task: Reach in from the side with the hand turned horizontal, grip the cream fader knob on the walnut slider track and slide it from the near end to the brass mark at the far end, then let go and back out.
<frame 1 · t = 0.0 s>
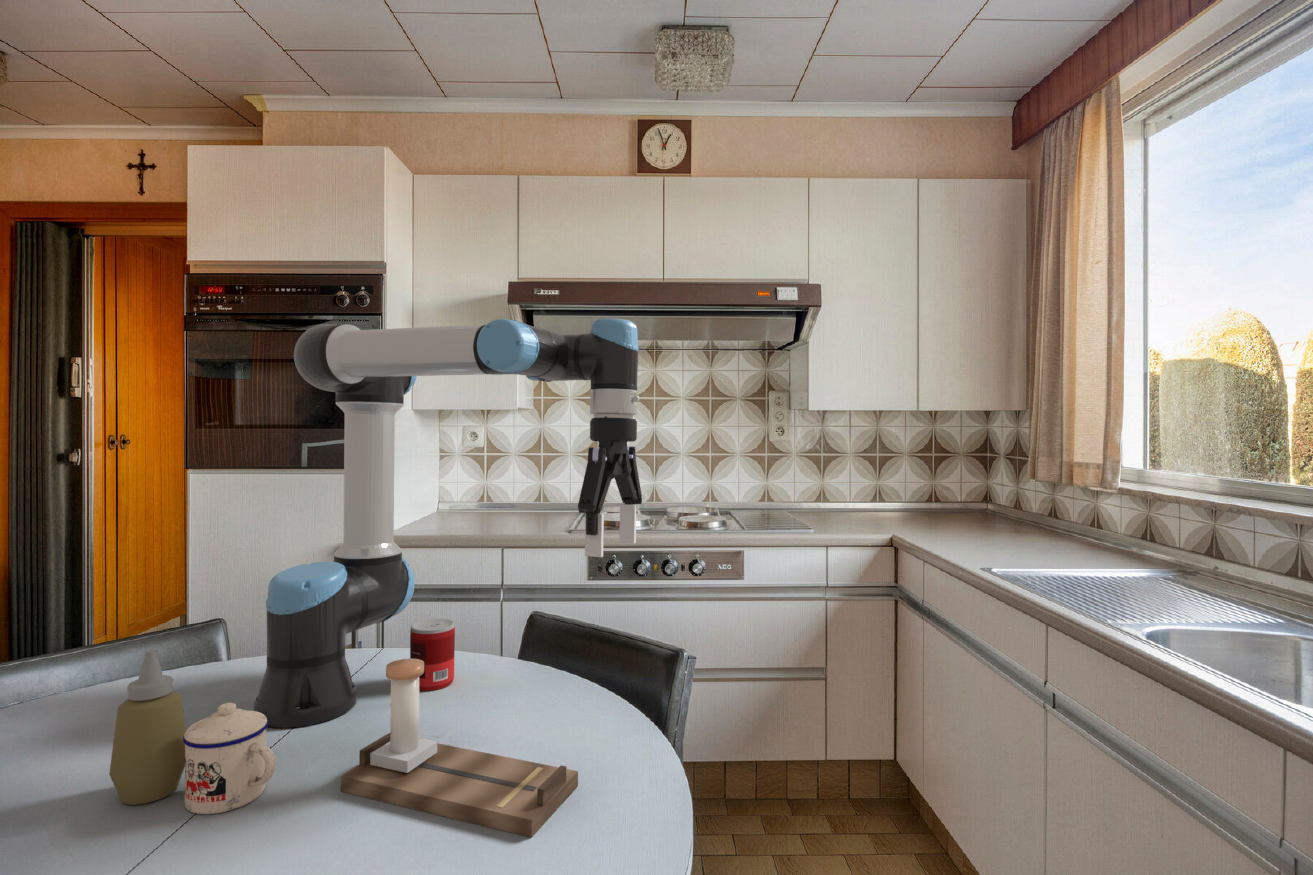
hand: (611, 549, 108), 28 cm above the table, tool pointing down, fingers open, 13 cm apart
fader track: (460, 788, 88), on the table
squeeze bottle: (149, 795, 86), on the table
canned food: (432, 684, 124), on the table
fader: (404, 711, 91), point 9 cm above the table, slide at -9.0 cm
teacup with lid: (235, 800, 85), on the table
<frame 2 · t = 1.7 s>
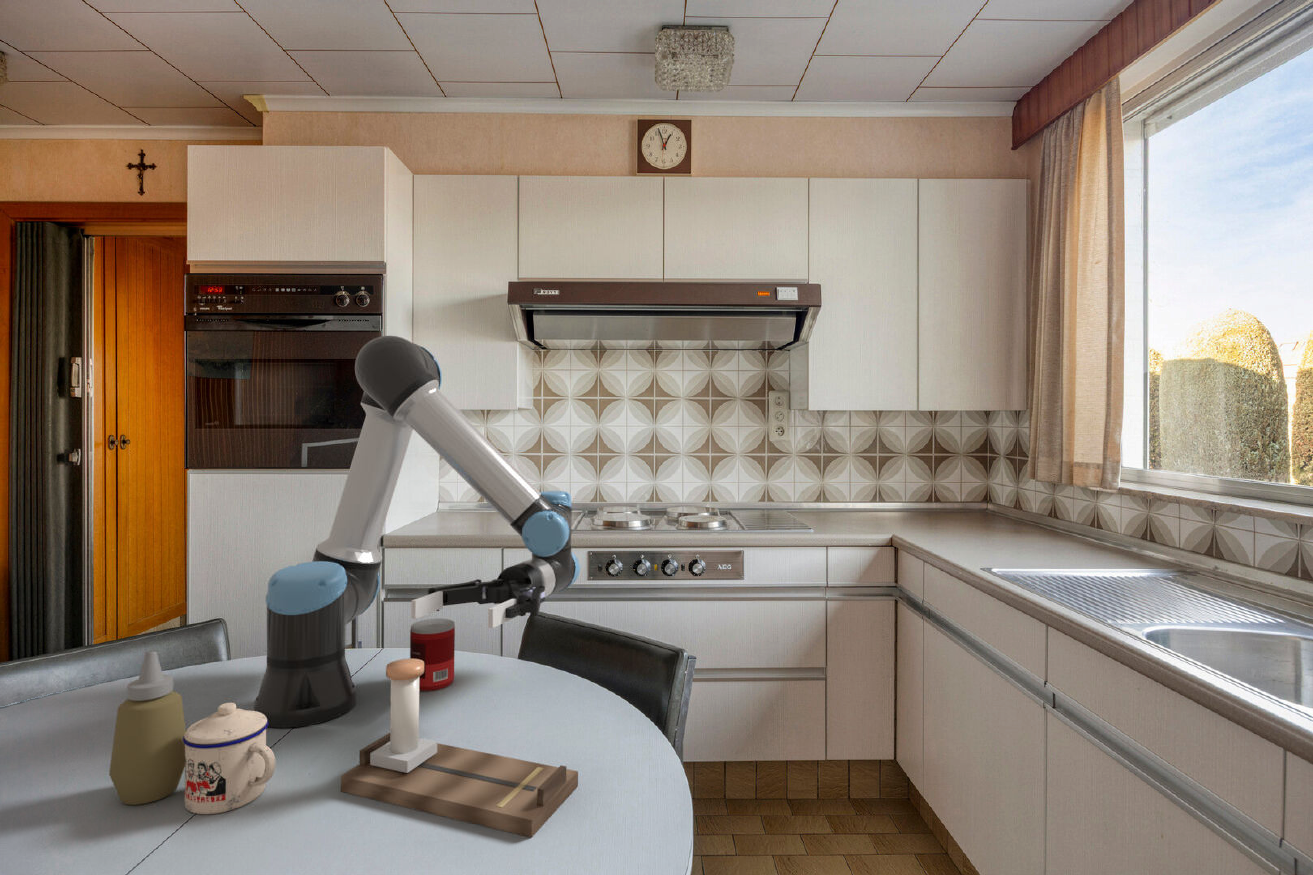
hand: (450, 613, 100), 20 cm above the table, tool horizontal, fingers open, 13 cm apart
nothing on the table moved.
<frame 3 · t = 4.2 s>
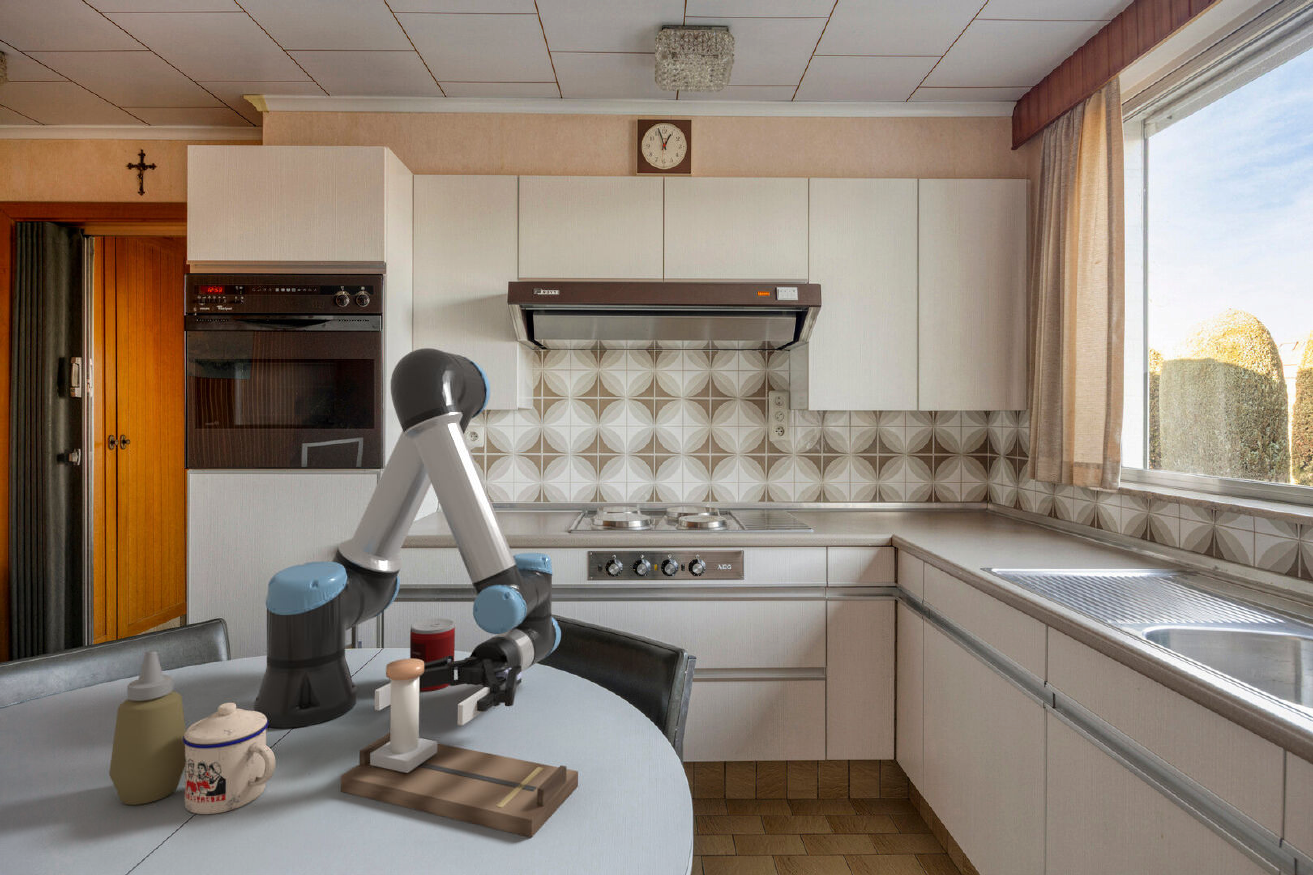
hand: (417, 707, 92), 9 cm above the table, tool horizontal, fingers open, 13 cm apart
nothing on the table moved.
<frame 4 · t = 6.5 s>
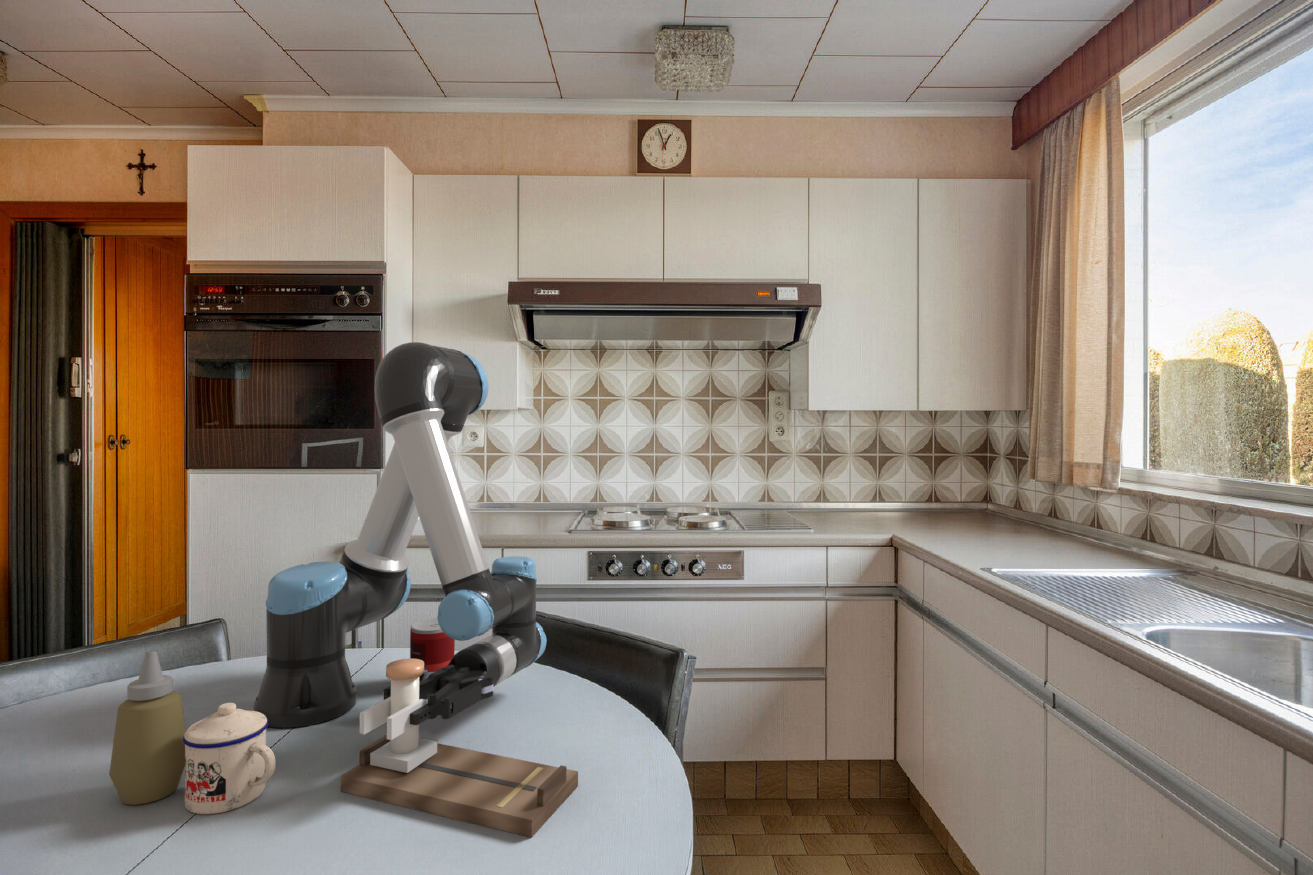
hand: (375, 725, 86), 9 cm above the table, tool horizontal, fingers closed on fader, 4 cm apart
fader: (404, 711, 91), point 9 cm above the table, slide at -9.0 cm, touching gripper
everything else where it was.
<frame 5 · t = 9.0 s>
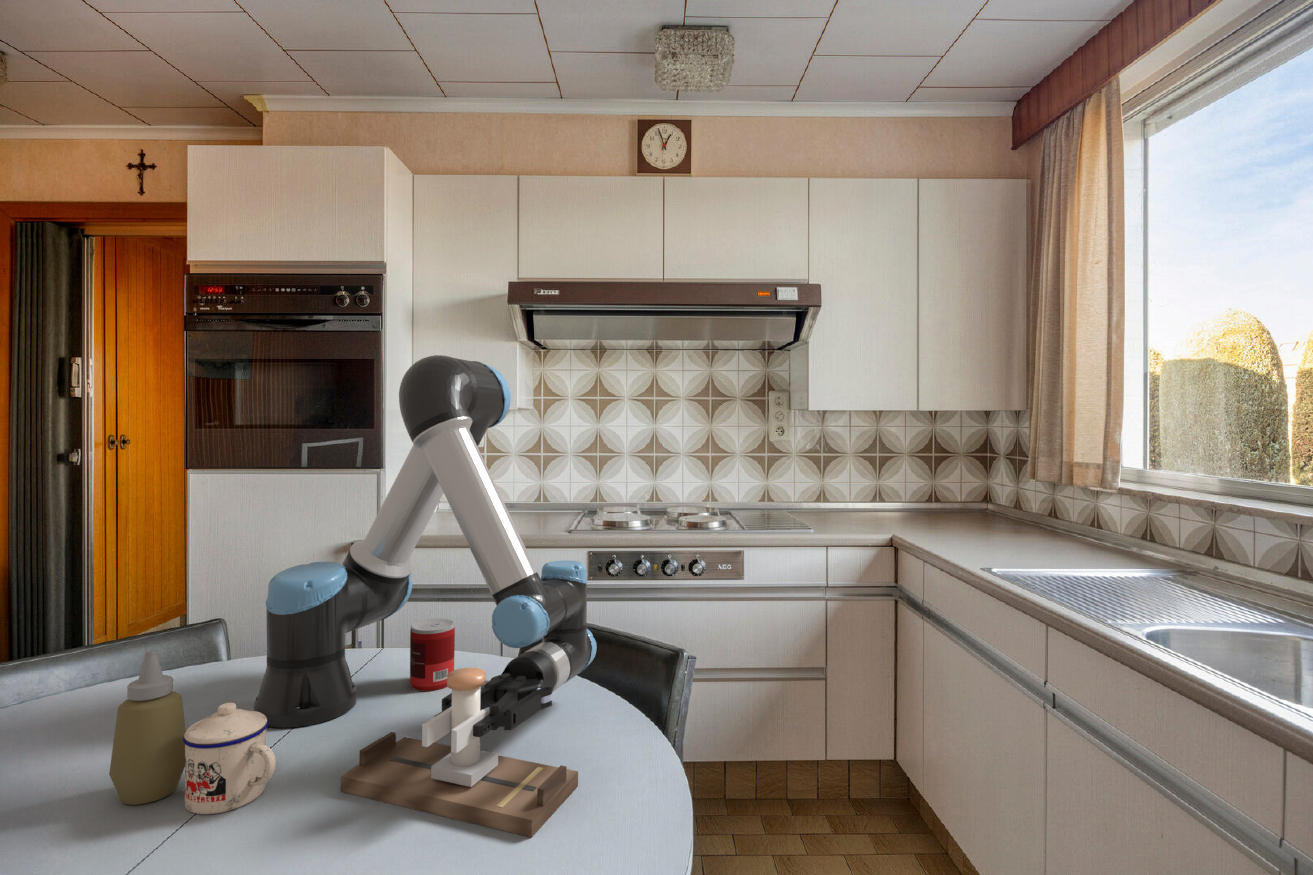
hand: (439, 738, 82), 9 cm above the table, tool horizontal, fingers closed on fader, 4 cm apart
fader: (465, 722, 88), point 9 cm above the table, slide at 0.7 cm, touching gripper
everything else where it was.
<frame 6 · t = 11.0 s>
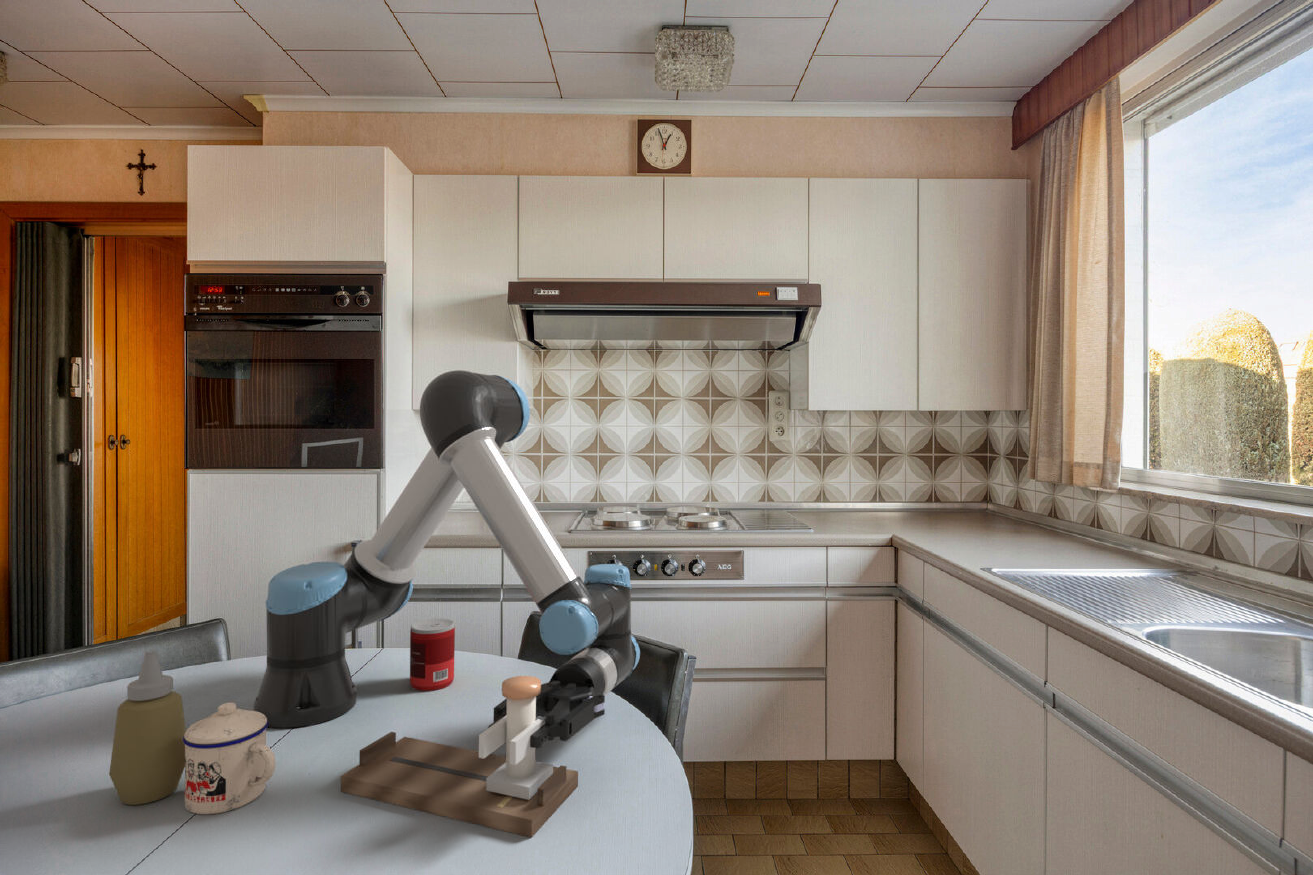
hand: (497, 749, 80), 9 cm above the table, tool horizontal, fingers closed on fader, 4 cm apart
fader: (520, 732, 85), point 9 cm above the table, slide at 8.9 cm, touching gripper
everything else where it was.
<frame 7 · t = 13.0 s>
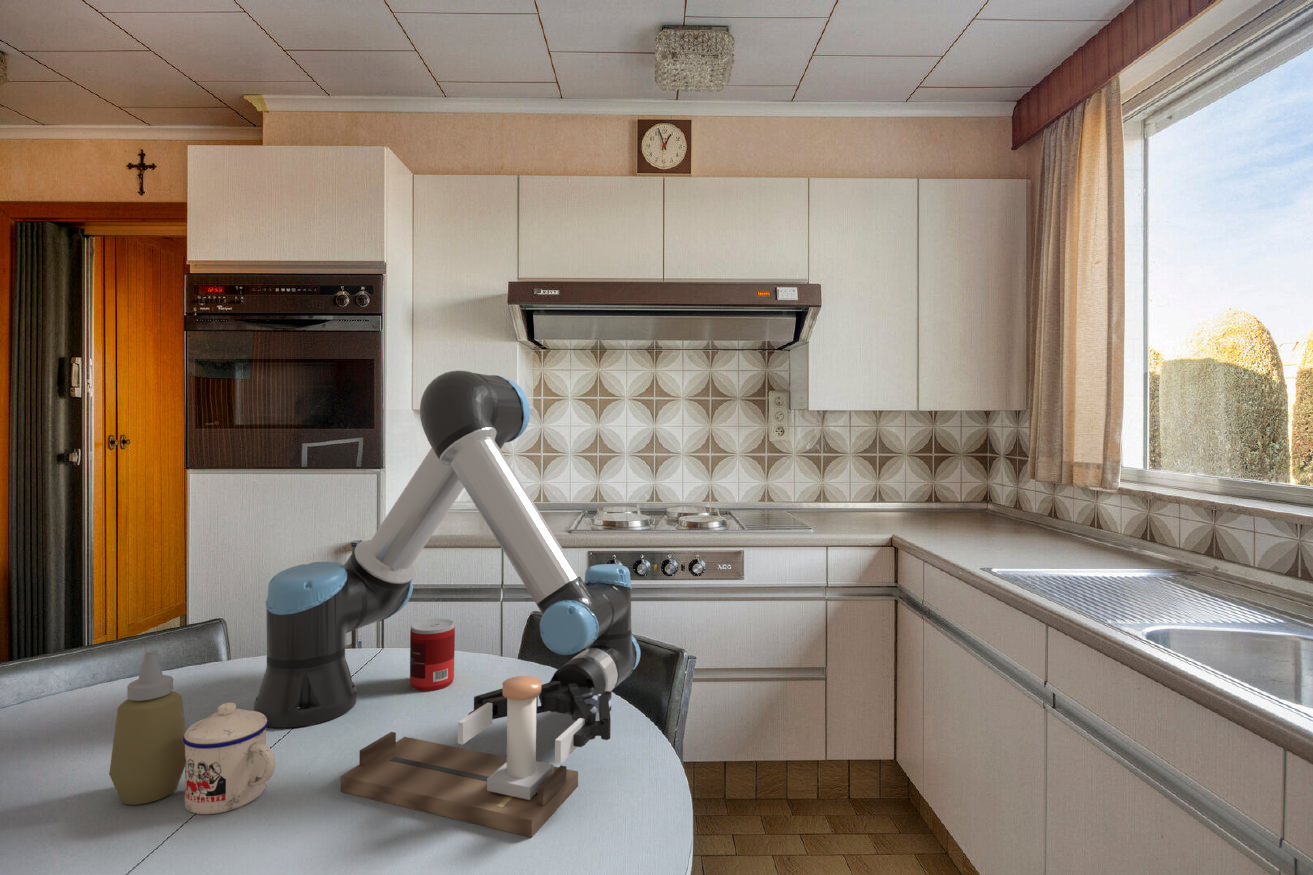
hand: (507, 742, 82), 9 cm above the table, tool horizontal, fingers open, 13 cm apart
fader: (521, 732, 85), point 9 cm above the table, slide at 9.0 cm
everything else where it was.
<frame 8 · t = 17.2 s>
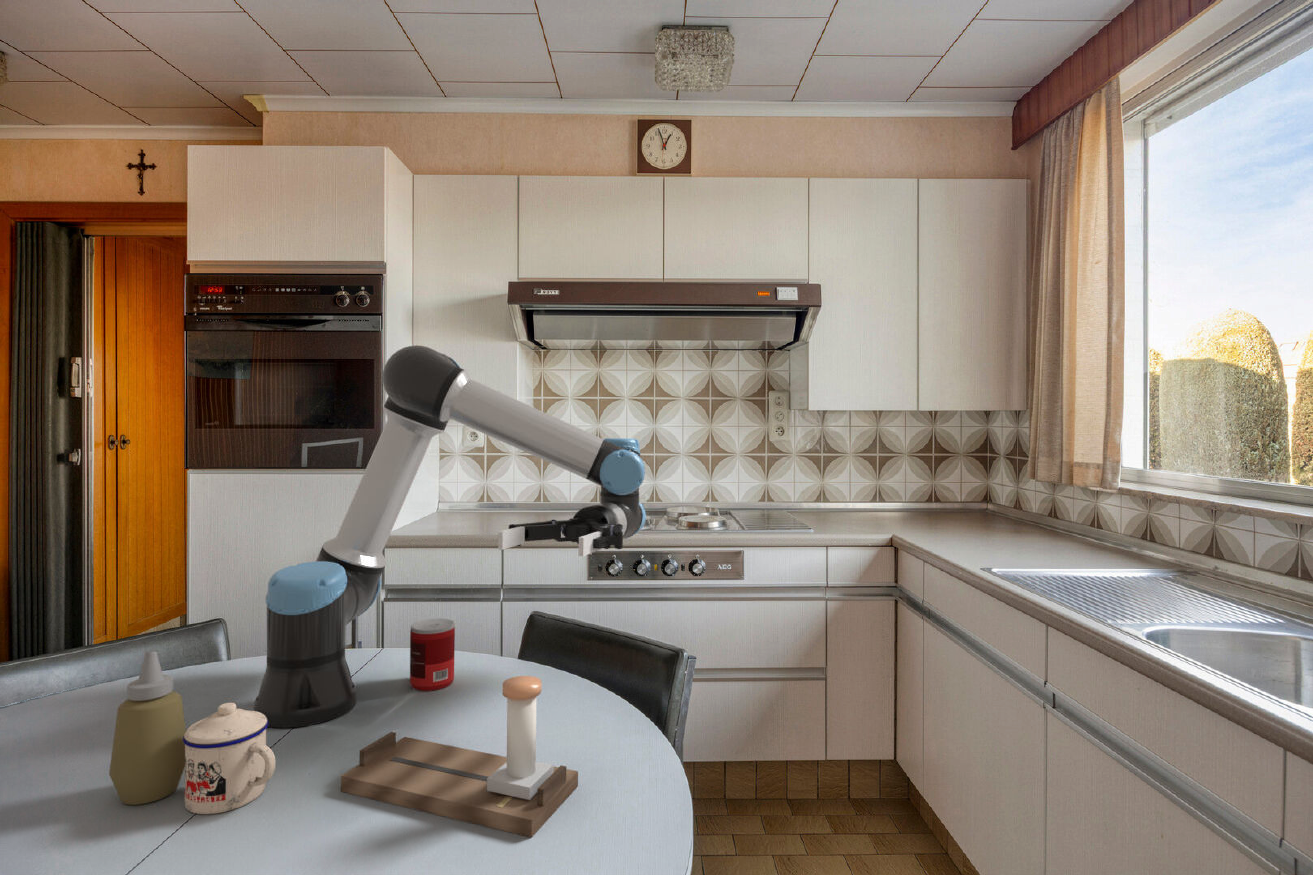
hand: (539, 543, 100), 30 cm above the table, tool horizontal, fingers open, 13 cm apart
nothing on the table moved.
at the end: fader slide at 9.0 cm; the gripper is holding nothing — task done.
